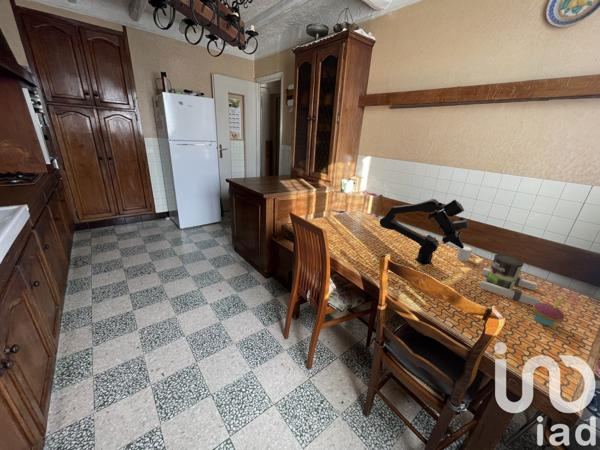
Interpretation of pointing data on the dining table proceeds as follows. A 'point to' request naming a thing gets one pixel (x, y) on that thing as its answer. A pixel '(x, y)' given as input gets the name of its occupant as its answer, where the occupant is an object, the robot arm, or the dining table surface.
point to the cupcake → (548, 313)
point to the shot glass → (464, 253)
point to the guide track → (509, 293)
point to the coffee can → (504, 271)
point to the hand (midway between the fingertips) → (462, 248)
